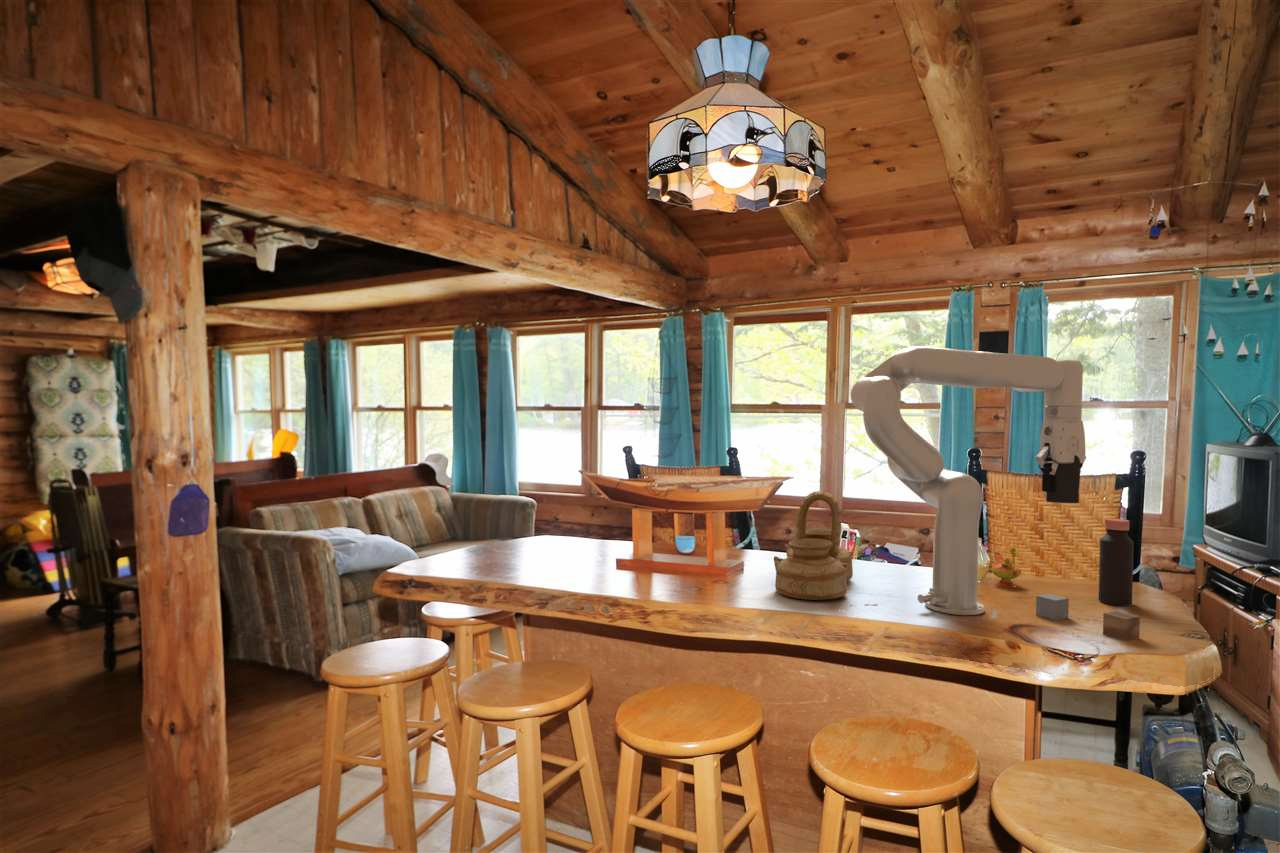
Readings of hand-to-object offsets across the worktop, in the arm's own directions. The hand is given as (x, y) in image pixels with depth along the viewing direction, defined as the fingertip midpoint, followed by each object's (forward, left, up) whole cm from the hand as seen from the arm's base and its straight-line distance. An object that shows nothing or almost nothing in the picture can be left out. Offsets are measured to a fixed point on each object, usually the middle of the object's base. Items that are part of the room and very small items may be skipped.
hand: (1060, 490), depth 166 cm
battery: (0, 0, -3) cm, 3 cm away
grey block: (-7, -4, -28) cm, 29 cm away
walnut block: (-7, -19, -28) cm, 34 cm away
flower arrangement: (+10, +22, -28) cm, 37 cm away
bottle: (+18, -2, -28) cm, 33 cm away
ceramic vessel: (-39, +40, -28) cm, 62 cm away
